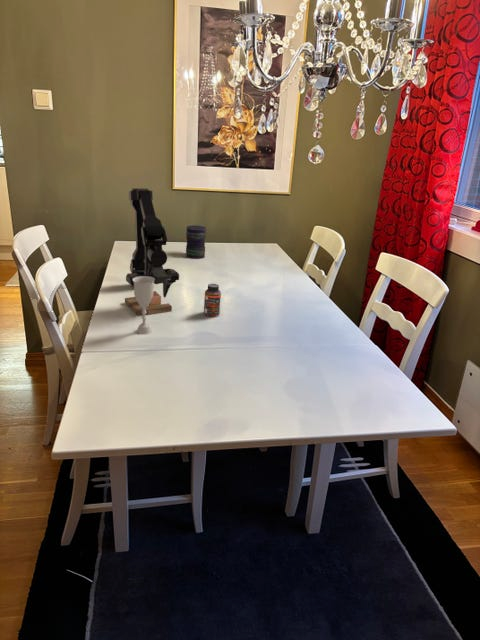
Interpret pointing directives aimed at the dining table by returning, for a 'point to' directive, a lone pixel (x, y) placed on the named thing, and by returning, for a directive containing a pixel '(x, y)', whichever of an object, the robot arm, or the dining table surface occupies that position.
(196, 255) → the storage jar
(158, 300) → the block
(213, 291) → the supplement bottle
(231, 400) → the dining table surface
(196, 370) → the dining table surface
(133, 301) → the notched board
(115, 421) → the dining table surface
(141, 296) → the chalice
